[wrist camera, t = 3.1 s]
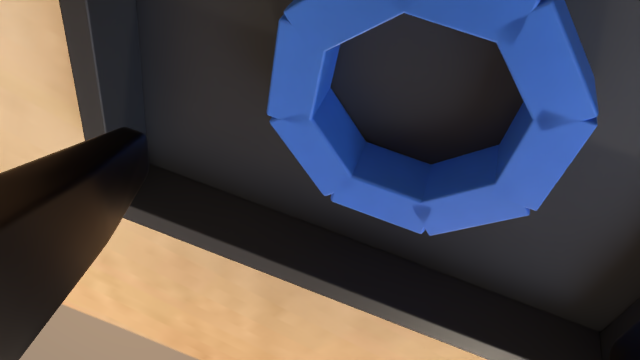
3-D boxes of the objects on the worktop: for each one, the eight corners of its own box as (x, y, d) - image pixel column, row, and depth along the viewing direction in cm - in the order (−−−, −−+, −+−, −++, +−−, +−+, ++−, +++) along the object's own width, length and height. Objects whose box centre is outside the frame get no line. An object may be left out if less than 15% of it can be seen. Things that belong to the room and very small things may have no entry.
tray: (1195, -159, 7) (1399, -116, 6) (609, 339, 18) (616, 410, 16) (81, -435, 9) (-31, -471, 7) (138, 162, 19) (96, 208, 18)
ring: (653, -6, 10) (667, 30, 9) (502, 223, 15) (499, 264, 14) (318, -108, 11) (291, -87, 10) (277, 142, 16) (256, 175, 15)
